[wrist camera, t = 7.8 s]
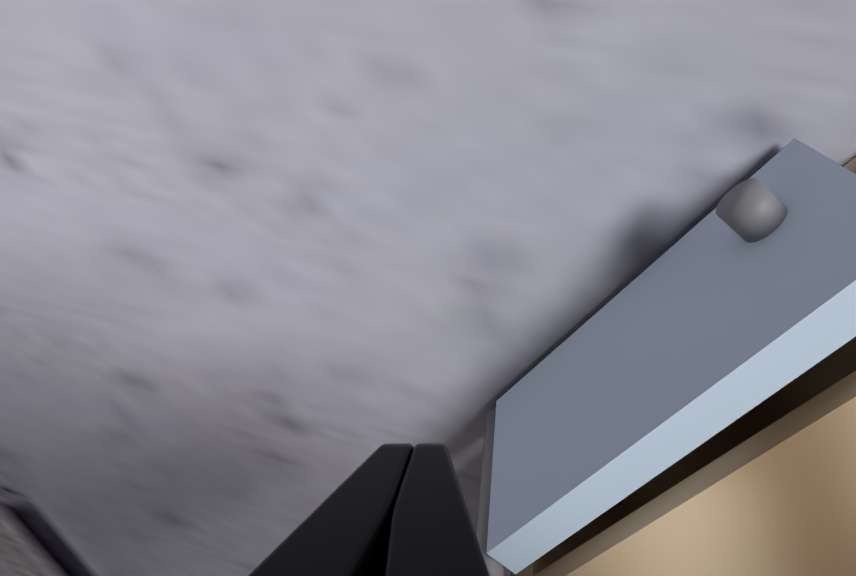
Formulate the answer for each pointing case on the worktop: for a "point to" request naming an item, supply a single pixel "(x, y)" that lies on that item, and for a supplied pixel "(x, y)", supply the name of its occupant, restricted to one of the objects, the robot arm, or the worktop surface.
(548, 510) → the door
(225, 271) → the worktop surface
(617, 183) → the worktop surface
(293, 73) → the worktop surface
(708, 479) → the cabinet
